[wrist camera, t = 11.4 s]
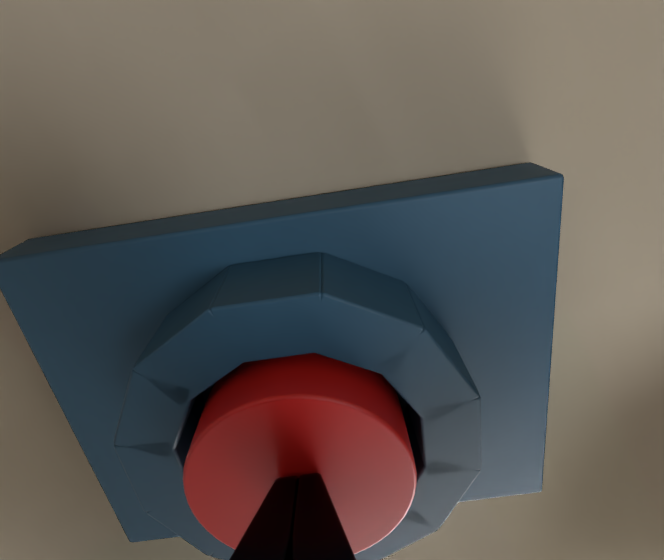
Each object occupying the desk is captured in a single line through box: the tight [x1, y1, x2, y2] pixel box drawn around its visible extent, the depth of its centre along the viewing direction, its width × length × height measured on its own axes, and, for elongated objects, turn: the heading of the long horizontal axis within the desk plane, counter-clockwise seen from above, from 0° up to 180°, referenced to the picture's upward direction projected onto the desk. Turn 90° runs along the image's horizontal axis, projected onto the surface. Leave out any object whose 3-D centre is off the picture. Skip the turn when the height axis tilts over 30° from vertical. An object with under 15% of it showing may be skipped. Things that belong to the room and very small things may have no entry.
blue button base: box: [0, 163, 564, 560], centre depth 11 cm, size 12×9×4 cm
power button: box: [183, 353, 417, 554], centre depth 9 cm, size 4×4×2 cm
